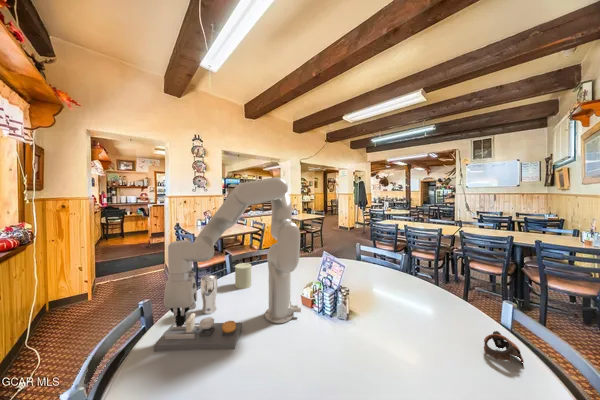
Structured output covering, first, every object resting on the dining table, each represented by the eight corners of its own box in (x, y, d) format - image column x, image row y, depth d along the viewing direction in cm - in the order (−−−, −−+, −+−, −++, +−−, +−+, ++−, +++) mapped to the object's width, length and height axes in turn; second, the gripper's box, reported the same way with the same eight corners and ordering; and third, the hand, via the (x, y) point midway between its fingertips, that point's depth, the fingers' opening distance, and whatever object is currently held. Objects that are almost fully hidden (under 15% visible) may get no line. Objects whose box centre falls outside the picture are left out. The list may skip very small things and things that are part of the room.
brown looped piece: (533, 375, 67) (522, 353, 66) (496, 377, 71) (485, 356, 71) (513, 341, 78) (503, 322, 77) (482, 344, 82) (472, 326, 81)
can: (255, 284, 128) (255, 264, 128) (243, 290, 121) (242, 268, 120) (243, 280, 133) (243, 261, 133) (231, 286, 125) (231, 265, 125)
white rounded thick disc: (215, 323, 84) (215, 317, 84) (211, 331, 79) (211, 324, 79) (203, 324, 84) (202, 317, 84) (197, 332, 79) (197, 325, 79)
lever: (197, 327, 84) (197, 312, 84) (191, 337, 79) (191, 320, 78) (189, 327, 84) (189, 312, 84) (183, 337, 79) (182, 320, 78)
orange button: (237, 327, 85) (237, 320, 84) (234, 335, 80) (234, 328, 80) (224, 327, 84) (224, 320, 84) (220, 335, 80) (220, 328, 79)
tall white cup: (211, 315, 96) (211, 281, 96) (197, 313, 98) (197, 280, 97) (220, 307, 103) (220, 275, 102) (207, 305, 105) (206, 274, 104)
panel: (242, 327, 88) (242, 319, 88) (234, 348, 76) (234, 339, 76) (172, 328, 87) (172, 320, 87) (154, 350, 75) (153, 341, 75)
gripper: (205, 271, 84) (205, 318, 85) (164, 271, 84) (165, 319, 84) (197, 279, 77) (197, 330, 78) (152, 279, 76) (153, 331, 77)
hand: (180, 324), depth 81 cm, fingers closed
